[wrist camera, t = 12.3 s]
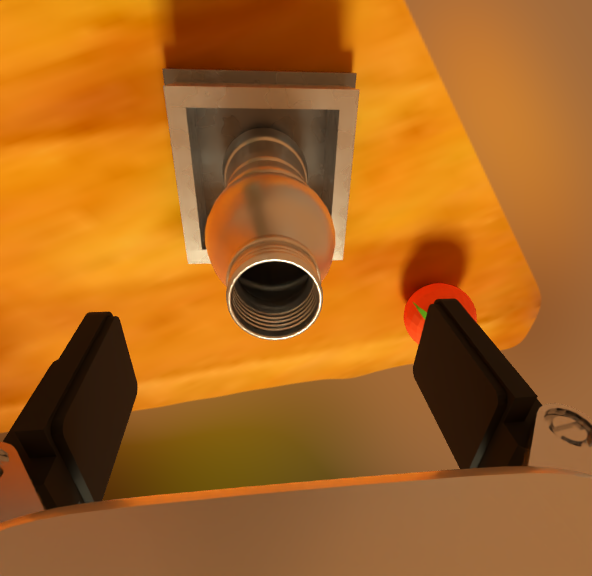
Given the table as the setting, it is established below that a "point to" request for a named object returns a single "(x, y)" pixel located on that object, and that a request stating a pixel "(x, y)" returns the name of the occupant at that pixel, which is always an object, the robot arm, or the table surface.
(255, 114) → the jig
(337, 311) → the table surface
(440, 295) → the clementine
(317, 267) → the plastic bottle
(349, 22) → the table surface
